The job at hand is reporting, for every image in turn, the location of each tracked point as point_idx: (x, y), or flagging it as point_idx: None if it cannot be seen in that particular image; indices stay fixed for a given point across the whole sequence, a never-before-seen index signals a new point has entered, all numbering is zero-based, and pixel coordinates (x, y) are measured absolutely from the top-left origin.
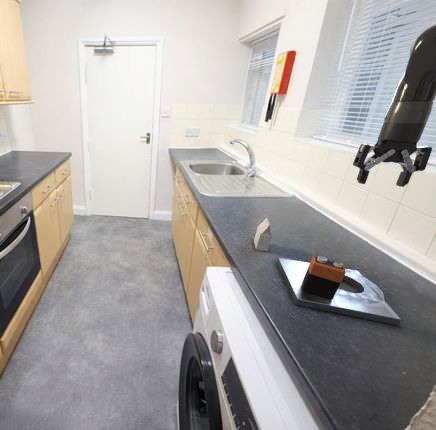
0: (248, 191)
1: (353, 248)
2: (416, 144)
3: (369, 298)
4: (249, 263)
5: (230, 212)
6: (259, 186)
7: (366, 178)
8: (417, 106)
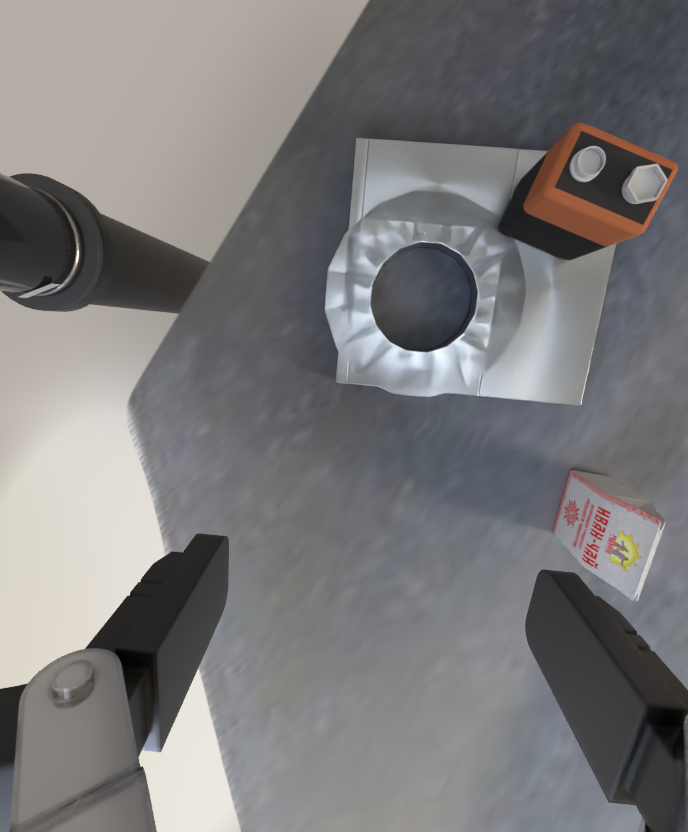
0: None
1: (249, 553)
2: None
3: (390, 224)
4: (674, 375)
5: None
6: None
7: (580, 611)
8: None
